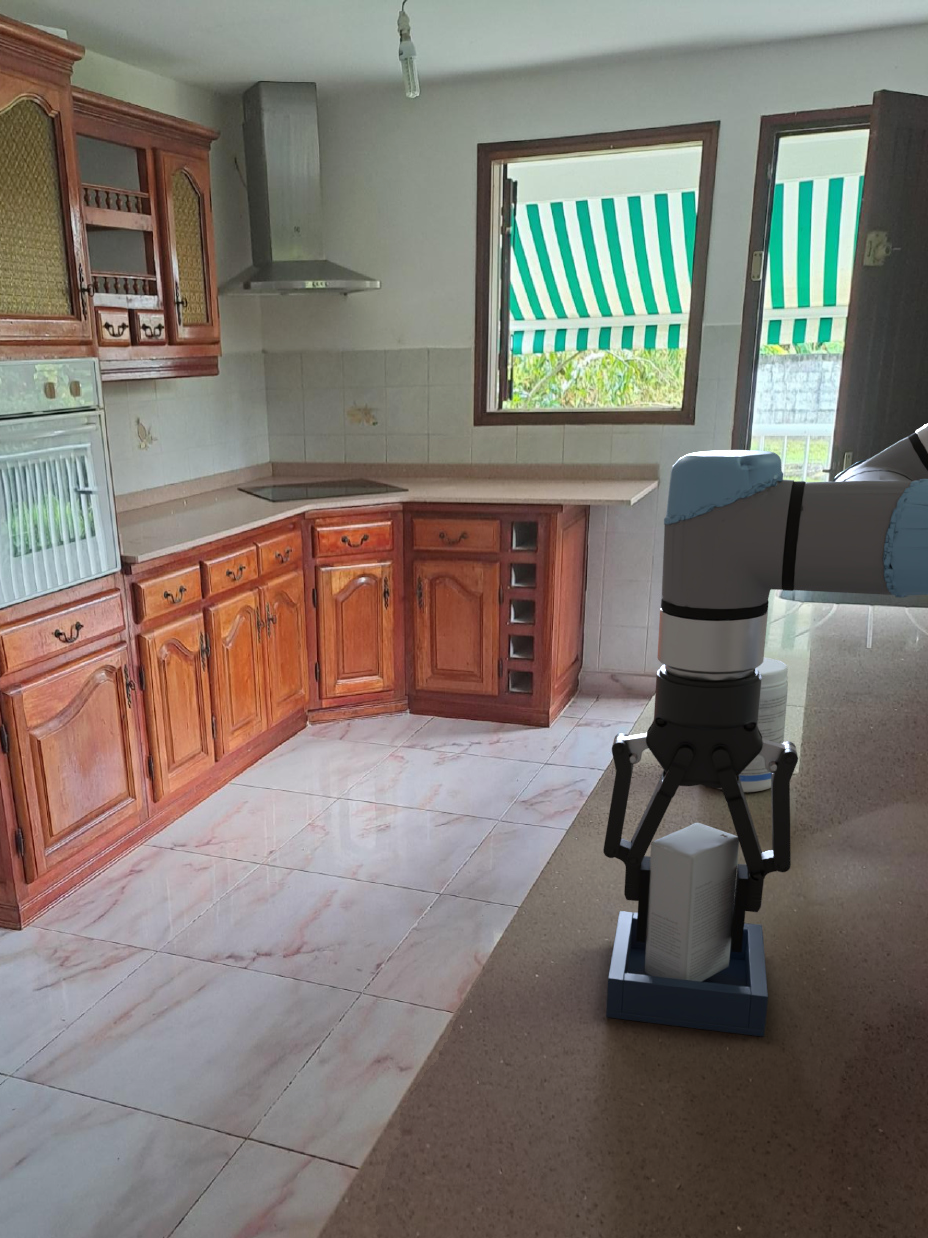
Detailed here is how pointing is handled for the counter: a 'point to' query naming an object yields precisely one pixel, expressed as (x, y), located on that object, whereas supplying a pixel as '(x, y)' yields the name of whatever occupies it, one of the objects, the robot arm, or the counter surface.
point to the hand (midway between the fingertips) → (688, 938)
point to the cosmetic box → (691, 903)
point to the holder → (689, 987)
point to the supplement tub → (768, 721)
